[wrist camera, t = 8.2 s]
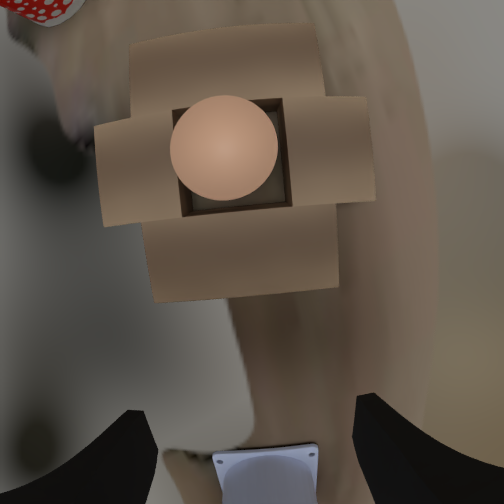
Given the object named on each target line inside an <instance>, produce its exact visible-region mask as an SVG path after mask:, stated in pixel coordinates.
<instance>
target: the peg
mask: <svg viewBox="0 0 504 504" xmlns="http://www.w3.org/2000/svg"><path fill="white" fill-rule="evenodd" d="M277 152H278V141H277V135H276V132H275V128H274V126H273V124H272V122H271V120H270V119H269V117H268V116H267V115H266V114H265V112H264V111H263V110H262V109H260V108H259V107H258V106H257V105H255V104H254V103H252V102H250V101H248V100H246V99H243V98H240V97H236V96H229V95H221V96H214V97H210V98H207V99H204V100H202V101H200V102H198V103H196V104H195V105H193V106H192V107H190V108H189V109H188V110H187V111H186V112H185V113H184V114H183V115H182V116H181V118H180V119H179V120H178V122H177V124H176V126H175V128H174V130H173V133H172V137H171V142H170V156H171V161H172V165H173V168H174V170H175V172H176V174H177V176H178V177H179V179H180V180H181V181H182V182H183V184H184V185H185V186H187V187H188V188H189V189H190V190H191V191H193V192H194V193H196V194H198V195H200V196H202V197H205V198H208V199H213V200H233V199H237V198H240V197H243V196H245V195H248V194H250V193H251V192H253V191H255V190H256V189H257V188H258V187H260V186H261V185H262V184H263V183H264V182H265V180H266V179H267V178H268V176H269V175H270V173H271V171H272V170H273V167H274V165H275V162H276V158H277Z"/></svg>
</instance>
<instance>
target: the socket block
mask: <svg viewBox="0 0 504 504" xmlns="http://www.w3.org/2000/svg"><path fill="white" fill-rule="evenodd" d="M129 81H130V109H131V118H127V119H123V120H118V121H114V122H110V123H106V124H101V125H98V126H94V136H95V152H96V164H97V175H98V185H99V194H100V202H101V210H102V218H103V224H104V227H110V226H117V225H124V224H132V223H140V222H141V226H142V233H143V240H144V246H145V252H146V259H147V265H148V271H149V276H150V282H151V288H152V293H153V298H154V303H167V302H182V301H196V300H210V299H221V298H235V297H246V296H257V295H268V294H279V293H289V292H298V291H308V290H317V289H326V288H335V287H339V257H338V231H337V212H336V203H349V202H365V201H376V190H375V175H374V162H373V151H372V140H371V131H370V122H369V114H368V107H367V99H366V97H354V96H326V95H325V88H324V81H323V74H322V67H321V61H320V54H319V48H318V42H317V37H316V31H315V25H314V23H272V24H254V25H241V26H230V27H221V28H213V29H205V30H199V31H192V32H186V33H180V34H175V35H169V36H164V37H159V38H155V39H150V40H146V41H142V42H137V43H133V44H129ZM221 95H229V96H236V97H240V98H243V99H246V100H248V101H250V102H252V103H254V104H255V105H257V106H258V107H259V108H260V109H262V110H263V111H264V112H271V111H277V116H278V126H279V135H280V145H281V156H282V166H283V177H284V189H285V201H286V202H280V203H269V204H258V205H247V206H237V207H227V208H217V209H207V210H198V211H193V205H192V196H191V190H190V189H189V188H188V187H187V186H185V185H184V184H183V182H182V181H181V180H180V179H179V177H178V176H177V174H176V172H175V170H174V168H173V165H172V161H171V156H170V142H171V137H172V133H173V130H174V128H175V126H176V124H177V122H178V120H179V119H180V118H181V116H182V115H183V114H184V113H185V112H186V111H187V110H188V109H189V108H190V107H192V106H193V105H195V104H196V103H198V102H200V101H202V100H204V99H207V98H210V97H214V96H221Z"/></svg>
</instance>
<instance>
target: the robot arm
mask: <svg viewBox="0 0 504 504" xmlns="http://www.w3.org/2000/svg"><path fill="white" fill-rule="evenodd" d="M352 438H353V443H354V447H355V451H356V454H357V458H358V462H359V464H360V467H361V469H362V472H363V474H364V477H365V479H366V481H367V484H368V486H369V489H370V491H371V494H372V496H373V499H374V501H375V504H504V468H503V467H498V466H495V465H491V464H488V463H485V462H482V461H479V460H477V459H474V458H471V457H469V456H466V455H464V454H461V453H459V452H457V451H455V450H453V449H451V448H450V447H448V446H446V445H444V444H442V443H440V442H439V441H437V440H435V439H434V438H432V437H431V436H429V435H427V434H426V433H424V432H423V431H421V430H420V429H419V428H417V427H416V426H415V425H413V424H412V423H411V422H409V421H408V420H407V419H405V418H404V417H403V416H401V415H400V414H399V413H398V412H397V411H395V410H394V409H393V408H392V407H391V406H389V405H388V404H387V403H386V402H385V401H383V400H382V399H381V398H380V397H379V396H377V395H376V394H375V393H369V394H364V395H359V396H357V399H356V409H355V418H354V426H353V434H352ZM157 455H158V448H157V445H156V443H155V441H154V438H153V435H152V433H151V430H150V427H149V425H148V422H147V420H146V417H145V414H144V411H139V410H138V411H137V410H127V411H126V412H125V413H124V414H122V415H121V416H120V417H119V418H118V419H117V420H116V421H115V422H114V423H113V424H112V425H110V426H109V427H108V428H107V429H106V430H105V431H104V432H103V433H102V434H101V435H100V436H99V437H97V438H96V439H95V440H94V441H93V442H92V443H91V444H89V445H88V446H87V447H85V448H84V449H83V450H82V451H80V452H79V453H78V454H77V455H75V456H74V457H73V458H71V459H70V460H69V461H67V462H66V463H64V464H63V465H61V466H60V467H58V468H57V469H55V470H53V471H52V472H50V473H48V474H46V475H45V476H43V477H41V478H39V479H37V480H34V481H32V482H30V483H28V484H26V485H24V486H21V487H19V488H16V489H13V490H10V491H7V492H4V493H1V494H0V504H145V503H146V500H147V496H148V494H149V490H150V487H151V484H152V481H153V477H154V474H155V468H156V463H157ZM212 458H213V462H214V465H215V469H216V472H217V475H218V479H219V482H220V486H221V489H222V492H223V498H222V504H318V502H317V497H316V483H317V467H318V446H317V445H316V444H305V445H298V446H289V447H279V448H268V449H254V450H235V451H216V452H214V453H213V457H212ZM220 460H221V461H220Z"/></svg>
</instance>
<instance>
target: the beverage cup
mask: <svg viewBox="0 0 504 504" xmlns="http://www.w3.org/2000/svg"><path fill="white" fill-rule="evenodd" d="M84 2H85V0H0V6H1V7H4V8H6V9H8V10H10V11H12V12H14V13H17V14H19V15H21V16H23V17H25V18H27V19H29V20H31V21H33V22H35V23H37V24H39V25H41V26H46V27H52V26H55V25H59V24H61V23H62V22H64V21H66V20H67V19H69V18H71V17H72V16H73V15H74V14H75V13H76V12H77V11H78V10H79V9H80V8H81V6H82V5H83V3H84Z"/></svg>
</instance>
